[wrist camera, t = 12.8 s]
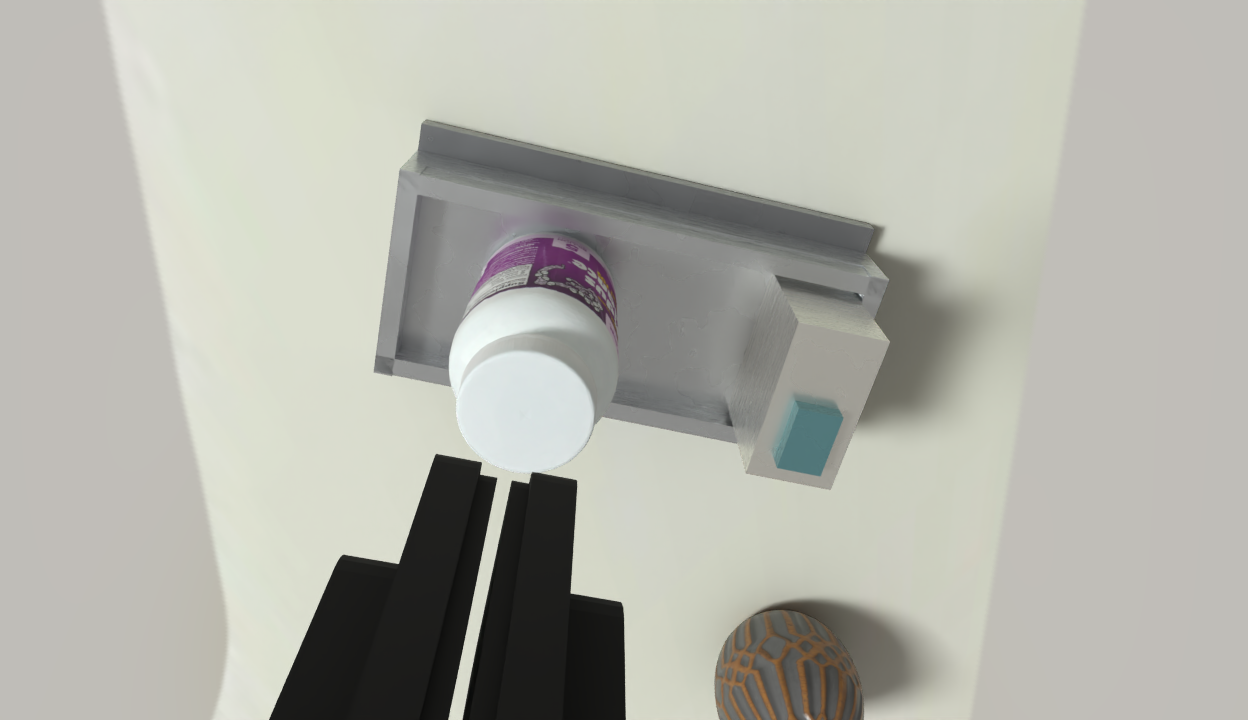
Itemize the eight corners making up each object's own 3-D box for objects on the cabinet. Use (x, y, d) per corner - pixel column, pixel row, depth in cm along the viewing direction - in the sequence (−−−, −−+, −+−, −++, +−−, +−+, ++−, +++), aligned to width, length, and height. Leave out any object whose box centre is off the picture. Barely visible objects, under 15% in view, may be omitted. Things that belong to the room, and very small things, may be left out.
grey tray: (425, 119, 33) (371, 169, 25) (868, 223, 35) (942, 298, 27) (393, 351, 37) (339, 454, 29) (791, 432, 39) (837, 547, 31)
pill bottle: (646, 305, 33) (660, 430, 25) (540, 382, 35) (518, 527, 26) (555, 197, 31) (536, 291, 23) (448, 283, 33) (390, 403, 24)
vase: (680, 653, 45) (696, 804, 37) (764, 565, 42) (801, 706, 34) (782, 708, 46) (819, 863, 39) (869, 626, 44) (926, 773, 36)
